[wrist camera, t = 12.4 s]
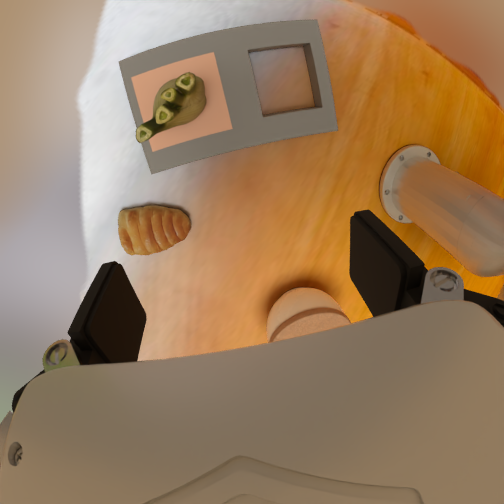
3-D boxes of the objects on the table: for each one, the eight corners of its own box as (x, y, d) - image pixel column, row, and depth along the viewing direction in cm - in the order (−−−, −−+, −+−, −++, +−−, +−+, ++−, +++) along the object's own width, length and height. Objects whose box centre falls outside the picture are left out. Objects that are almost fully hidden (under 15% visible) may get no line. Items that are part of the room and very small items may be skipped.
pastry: (185, 194, 34) (183, 206, 31) (195, 240, 38) (194, 255, 35) (117, 208, 34) (109, 220, 30) (131, 251, 37) (125, 267, 34)
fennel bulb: (166, 132, 27) (139, 154, 17) (148, 93, 25) (110, 93, 14) (216, 109, 27) (219, 117, 17) (198, 70, 24) (190, 52, 14)
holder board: (309, 24, 24) (317, 19, 22) (329, 127, 32) (339, 131, 29) (125, 63, 24) (117, 61, 22) (155, 168, 32) (151, 175, 29)
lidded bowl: (243, 307, 45) (253, 361, 36) (305, 258, 42) (331, 308, 32) (289, 339, 51) (304, 387, 42) (344, 299, 48) (370, 345, 38)
